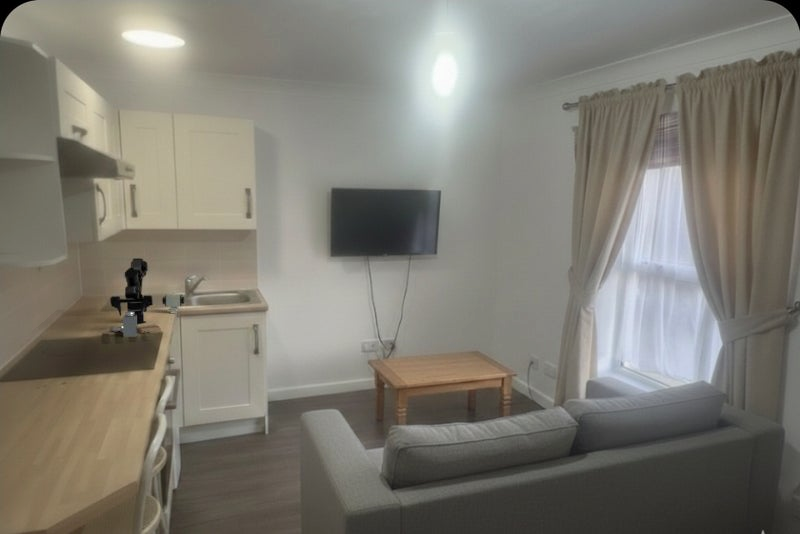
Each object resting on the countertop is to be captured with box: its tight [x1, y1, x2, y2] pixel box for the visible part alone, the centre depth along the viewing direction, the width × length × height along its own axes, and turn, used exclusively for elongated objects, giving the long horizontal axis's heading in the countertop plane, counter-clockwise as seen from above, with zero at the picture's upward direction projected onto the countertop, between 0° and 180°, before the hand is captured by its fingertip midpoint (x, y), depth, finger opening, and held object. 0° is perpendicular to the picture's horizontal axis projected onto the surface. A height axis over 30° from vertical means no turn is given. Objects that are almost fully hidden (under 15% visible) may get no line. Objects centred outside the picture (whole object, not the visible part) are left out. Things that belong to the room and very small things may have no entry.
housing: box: [122, 310, 138, 338], centre depth 252 cm, size 4×6×12 cm
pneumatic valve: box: [162, 293, 186, 315], centre depth 305 cm, size 6×12×12 cm, turn 106°
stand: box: [137, 323, 162, 334], centre depth 262 cm, size 9×9×2 cm
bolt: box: [109, 324, 124, 333], centre depth 258 cm, size 7×4×4 cm, turn 83°
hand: (130, 314), depth 254 cm, fingers open, 9 cm apart
